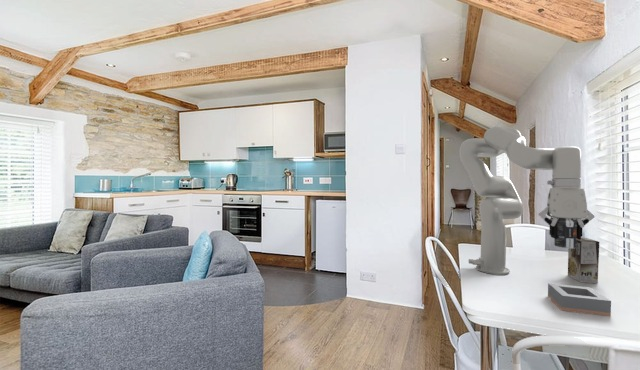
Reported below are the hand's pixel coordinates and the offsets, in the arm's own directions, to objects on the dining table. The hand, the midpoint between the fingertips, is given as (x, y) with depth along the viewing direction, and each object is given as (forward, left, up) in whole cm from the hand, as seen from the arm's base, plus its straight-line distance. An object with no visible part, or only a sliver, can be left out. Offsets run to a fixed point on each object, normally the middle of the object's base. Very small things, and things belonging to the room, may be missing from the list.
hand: (565, 237), depth 108 cm
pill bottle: (0, 0, -3) cm, 3 cm away
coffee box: (+15, +27, -20) cm, 37 cm away
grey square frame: (+1, -6, -20) cm, 21 cm away
